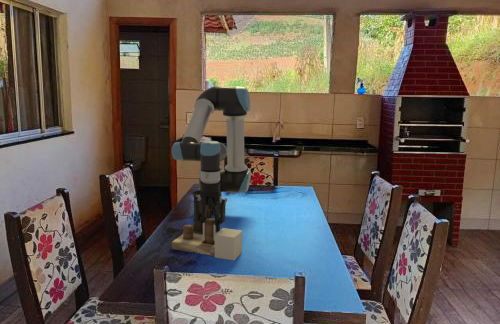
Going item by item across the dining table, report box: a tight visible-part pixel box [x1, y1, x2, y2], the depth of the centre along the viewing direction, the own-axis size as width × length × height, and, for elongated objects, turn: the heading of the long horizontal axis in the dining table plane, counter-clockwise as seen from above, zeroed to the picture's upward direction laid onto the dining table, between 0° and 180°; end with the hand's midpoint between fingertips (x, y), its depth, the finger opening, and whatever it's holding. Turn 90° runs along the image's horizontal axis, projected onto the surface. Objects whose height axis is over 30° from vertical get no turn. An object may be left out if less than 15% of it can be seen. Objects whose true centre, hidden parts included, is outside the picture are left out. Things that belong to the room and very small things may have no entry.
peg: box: [205, 217, 215, 245], centre depth 155 cm, size 4×4×12 cm
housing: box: [214, 227, 243, 261], centre depth 149 cm, size 8×8×9 cm
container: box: [192, 189, 212, 234], centre depth 174 cm, size 9×9×18 cm
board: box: [171, 224, 215, 257], centre depth 157 cm, size 12×18×8 cm, turn 70°
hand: (210, 238), depth 155 cm, fingers closed on peg, 4 cm apart
